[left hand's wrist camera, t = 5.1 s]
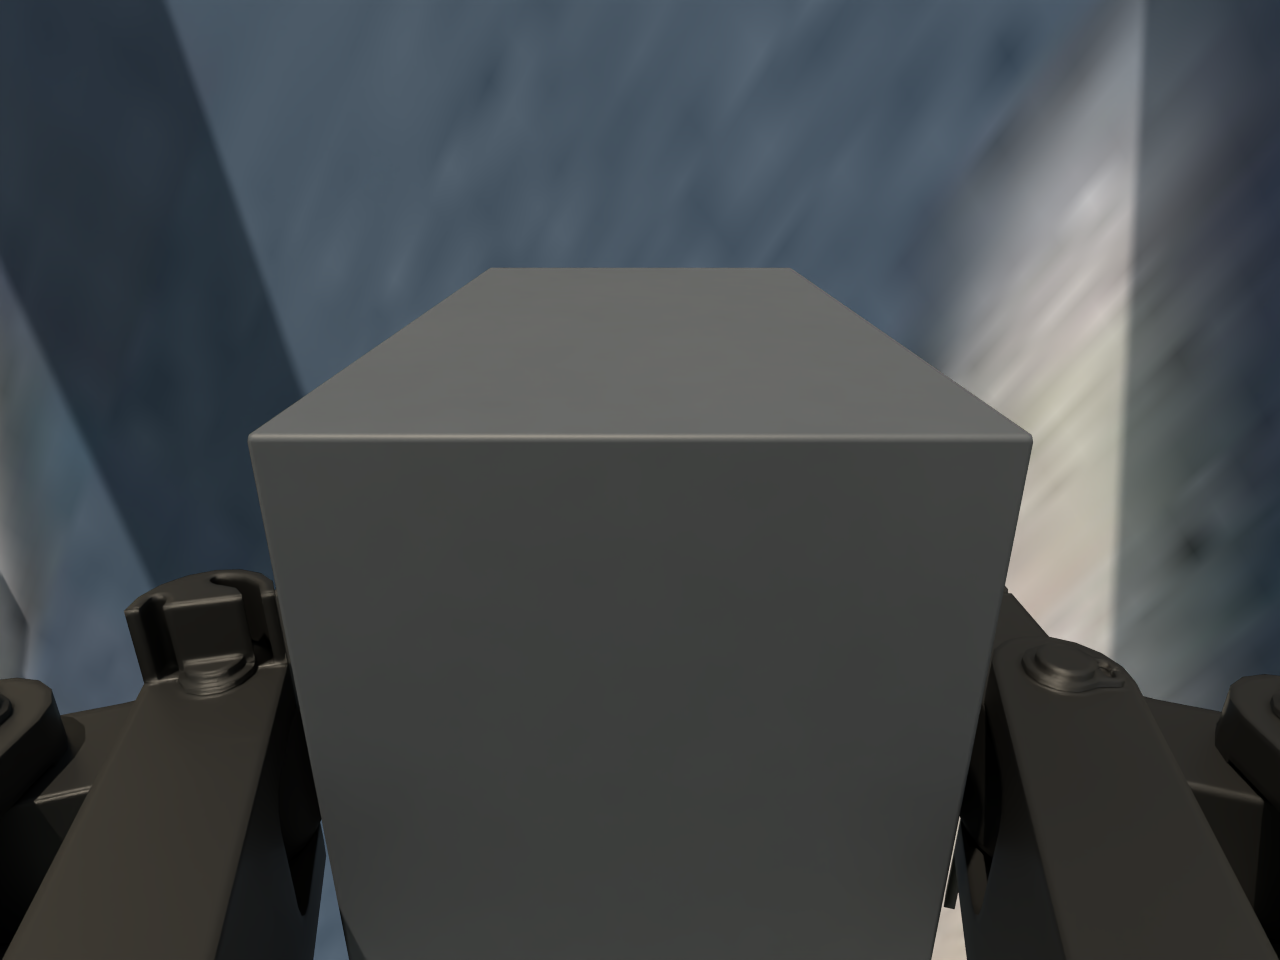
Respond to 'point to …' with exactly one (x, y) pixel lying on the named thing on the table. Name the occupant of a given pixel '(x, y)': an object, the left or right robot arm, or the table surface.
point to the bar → (640, 619)
